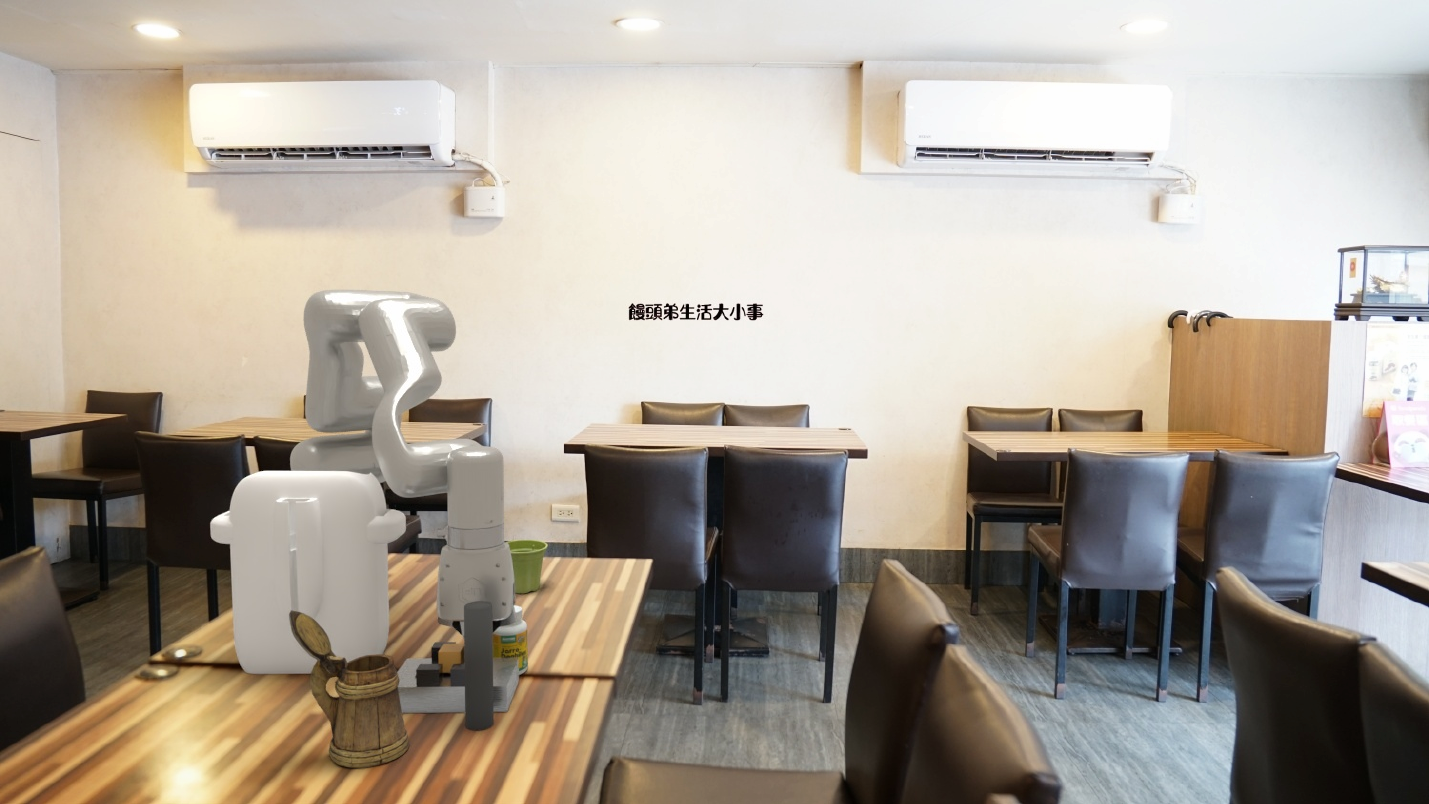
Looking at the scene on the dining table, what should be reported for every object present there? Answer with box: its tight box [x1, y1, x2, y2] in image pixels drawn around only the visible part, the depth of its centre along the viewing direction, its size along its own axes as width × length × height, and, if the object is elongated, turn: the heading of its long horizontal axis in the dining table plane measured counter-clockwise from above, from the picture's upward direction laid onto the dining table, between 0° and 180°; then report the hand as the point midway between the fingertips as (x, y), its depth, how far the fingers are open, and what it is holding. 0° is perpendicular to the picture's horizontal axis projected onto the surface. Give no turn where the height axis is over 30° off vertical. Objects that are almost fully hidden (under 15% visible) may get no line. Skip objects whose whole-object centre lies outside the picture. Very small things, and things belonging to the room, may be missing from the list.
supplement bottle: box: [493, 605, 529, 676], centre depth 135 cm, size 5×5×10 cm
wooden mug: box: [289, 610, 410, 769], centre depth 109 cm, size 9×14×18 cm, turn 96°
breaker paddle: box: [438, 643, 465, 673], centre depth 125 cm, size 3×3×3 cm
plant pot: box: [506, 539, 549, 595], centre depth 174 cm, size 9×9×9 cm
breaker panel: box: [397, 641, 520, 714], centre depth 126 cm, size 16×10×6 cm, turn 93°
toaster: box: [209, 470, 407, 675], centre depth 134 cm, size 27×11×30 cm, turn 94°
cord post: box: [463, 601, 495, 731], centre depth 117 cm, size 4×4×16 cm
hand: (477, 664), depth 126 cm, fingers closed
